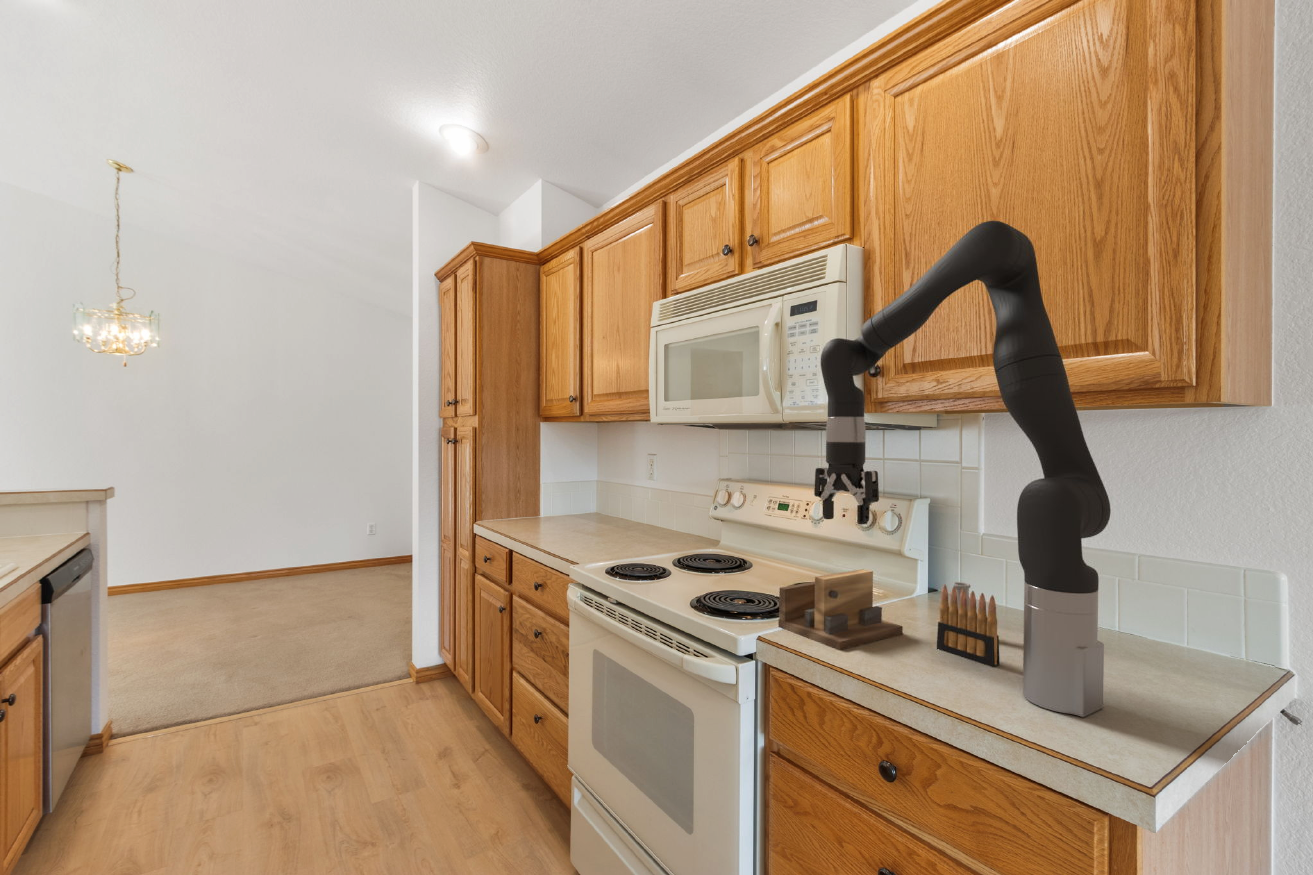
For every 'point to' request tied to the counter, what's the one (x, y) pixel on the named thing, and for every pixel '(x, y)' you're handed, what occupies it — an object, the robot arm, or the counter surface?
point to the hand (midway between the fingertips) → (845, 521)
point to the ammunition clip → (968, 628)
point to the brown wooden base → (830, 620)
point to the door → (843, 595)
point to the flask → (959, 587)
